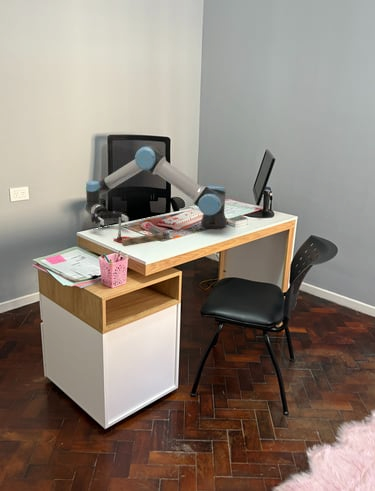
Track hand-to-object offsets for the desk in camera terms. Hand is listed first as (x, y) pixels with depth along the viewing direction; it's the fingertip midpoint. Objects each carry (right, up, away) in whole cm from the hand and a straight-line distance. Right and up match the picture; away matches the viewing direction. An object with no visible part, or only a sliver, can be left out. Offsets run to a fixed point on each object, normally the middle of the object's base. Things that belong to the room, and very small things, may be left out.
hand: (115, 221), depth 231 cm
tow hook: (+6, -10, -6) cm, 13 cm away
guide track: (+12, -9, -2) cm, 15 cm away
